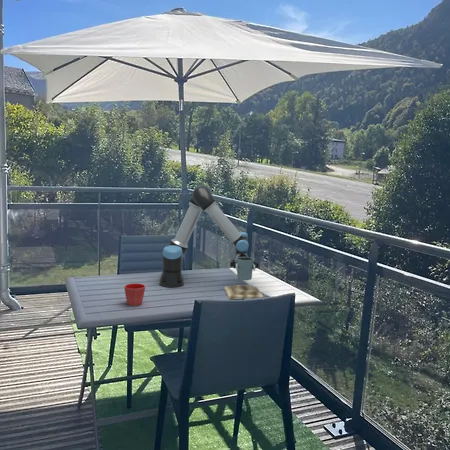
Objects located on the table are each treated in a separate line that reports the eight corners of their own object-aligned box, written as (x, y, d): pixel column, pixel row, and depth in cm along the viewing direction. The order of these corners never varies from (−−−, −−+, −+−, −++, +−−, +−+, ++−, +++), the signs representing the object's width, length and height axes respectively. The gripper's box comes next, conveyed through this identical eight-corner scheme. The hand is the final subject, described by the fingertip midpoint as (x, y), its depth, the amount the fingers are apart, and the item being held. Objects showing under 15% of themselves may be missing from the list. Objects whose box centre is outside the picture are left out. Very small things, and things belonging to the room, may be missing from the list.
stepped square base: (228, 299, 254) (229, 292, 254) (224, 289, 274) (224, 283, 274) (263, 300, 257) (263, 293, 257) (256, 290, 277) (256, 283, 276)
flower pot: (121, 301, 242) (122, 284, 240) (141, 299, 247) (141, 282, 246) (127, 307, 233) (127, 289, 231) (147, 305, 238) (147, 287, 236)
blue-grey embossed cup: (234, 279, 260) (235, 259, 258) (236, 275, 270) (237, 255, 268) (252, 281, 258) (253, 260, 257) (253, 276, 268) (254, 257, 267)
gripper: (259, 266, 282) (264, 275, 260) (224, 265, 281) (226, 274, 259) (260, 254, 281) (265, 262, 259) (225, 253, 280) (226, 261, 258)
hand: (245, 268), depth 259 cm, fingers closed on blue-grey embossed cup, 9 cm apart
